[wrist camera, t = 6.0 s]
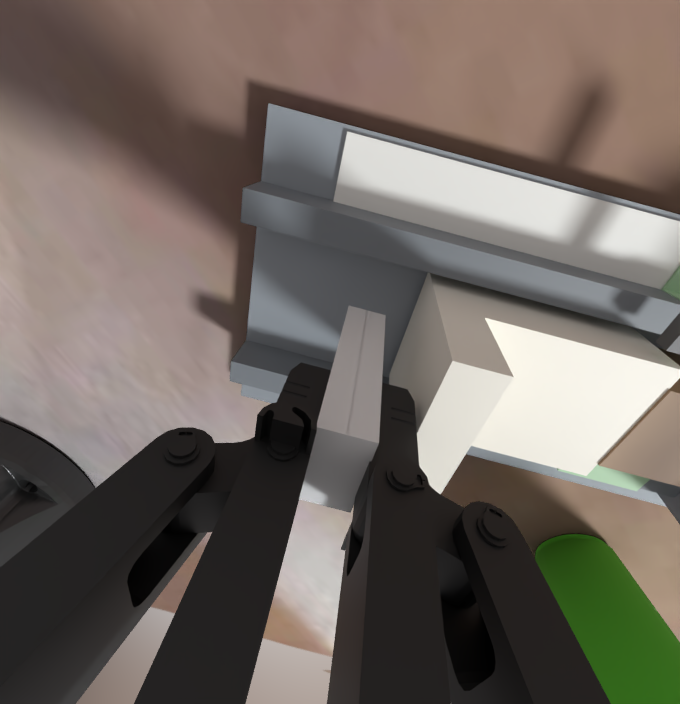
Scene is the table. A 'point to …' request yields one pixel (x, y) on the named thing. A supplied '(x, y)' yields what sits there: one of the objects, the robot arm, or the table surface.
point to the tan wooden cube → (652, 440)
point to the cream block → (523, 378)
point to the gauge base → (435, 254)
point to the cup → (612, 620)
